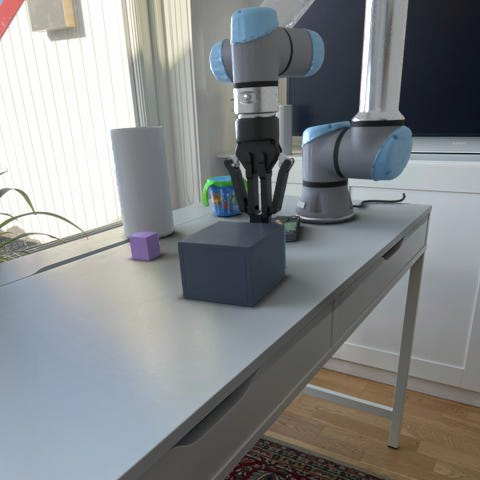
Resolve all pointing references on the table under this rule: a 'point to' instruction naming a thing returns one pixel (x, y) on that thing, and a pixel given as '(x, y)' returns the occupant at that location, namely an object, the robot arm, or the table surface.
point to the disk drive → (288, 225)
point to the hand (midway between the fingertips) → (261, 250)
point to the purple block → (145, 245)
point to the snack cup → (221, 195)
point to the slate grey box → (232, 262)
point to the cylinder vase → (142, 179)
